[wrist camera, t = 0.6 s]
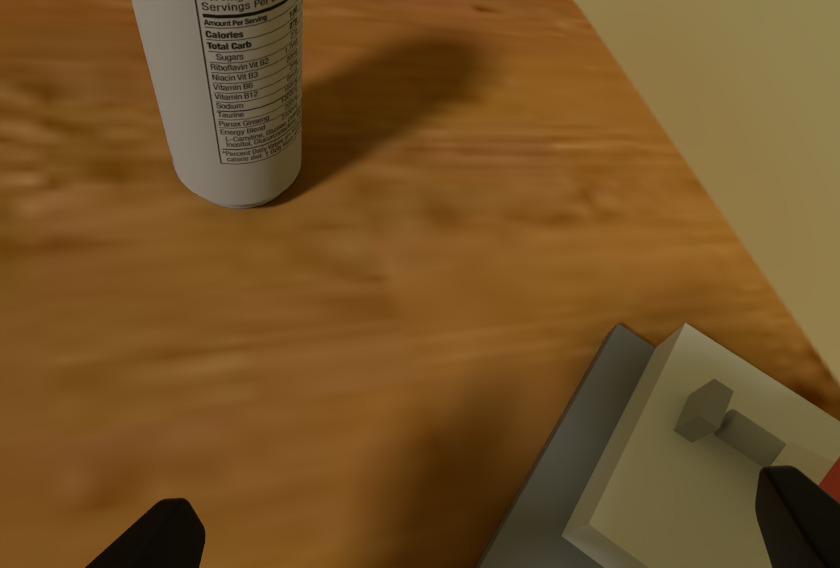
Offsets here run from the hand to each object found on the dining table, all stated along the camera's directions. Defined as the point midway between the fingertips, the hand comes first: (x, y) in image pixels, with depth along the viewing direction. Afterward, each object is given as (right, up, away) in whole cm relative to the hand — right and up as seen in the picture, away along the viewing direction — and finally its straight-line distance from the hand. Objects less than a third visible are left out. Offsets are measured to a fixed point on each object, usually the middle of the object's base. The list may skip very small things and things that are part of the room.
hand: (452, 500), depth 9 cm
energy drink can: (-10, +9, +21) cm, 25 cm away
